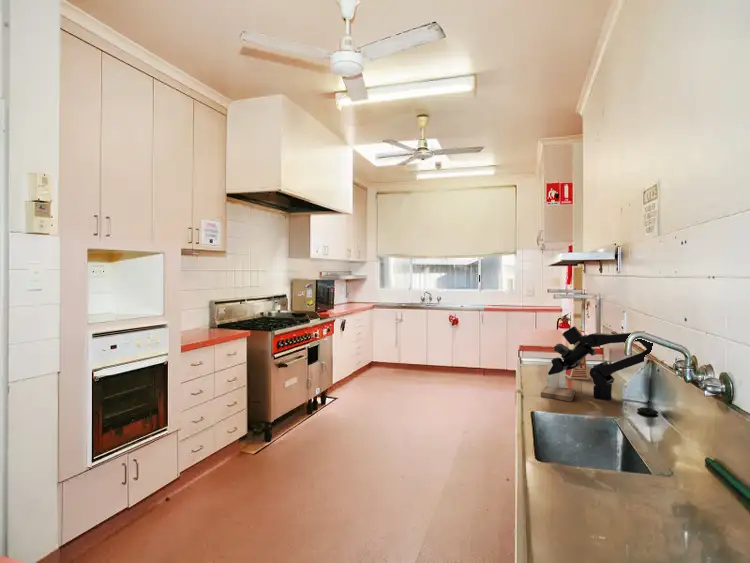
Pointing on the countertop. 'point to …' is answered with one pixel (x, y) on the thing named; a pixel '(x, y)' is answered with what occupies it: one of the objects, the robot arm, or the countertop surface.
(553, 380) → the cream tea tin
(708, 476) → the countertop surface
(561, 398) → the walnut block
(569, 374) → the milk carton
